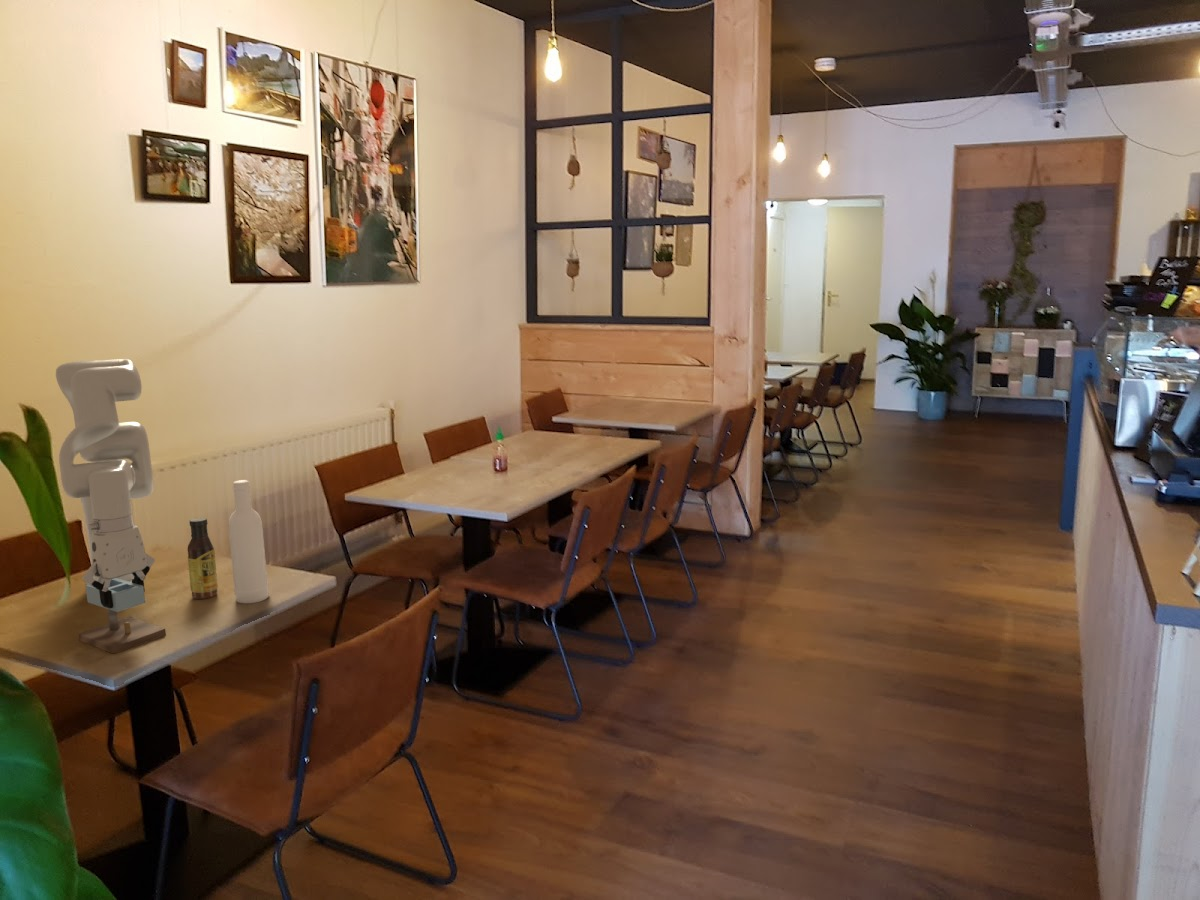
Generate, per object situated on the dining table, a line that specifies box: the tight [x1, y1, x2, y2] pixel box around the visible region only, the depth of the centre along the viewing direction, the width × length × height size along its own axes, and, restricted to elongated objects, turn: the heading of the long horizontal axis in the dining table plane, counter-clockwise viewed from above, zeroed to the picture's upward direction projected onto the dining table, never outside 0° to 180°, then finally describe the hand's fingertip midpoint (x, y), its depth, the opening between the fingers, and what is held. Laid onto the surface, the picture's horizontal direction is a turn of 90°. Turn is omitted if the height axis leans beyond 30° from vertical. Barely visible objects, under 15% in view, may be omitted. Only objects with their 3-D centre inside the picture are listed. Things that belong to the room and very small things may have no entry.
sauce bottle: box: [187, 517, 219, 600], centre depth 229 cm, size 6×6×20 cm
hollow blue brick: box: [85, 578, 146, 613], centre depth 204 cm, size 12×6×4 cm, turn 57°
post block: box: [78, 608, 167, 655], centre depth 205 cm, size 14×12×8 cm
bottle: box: [227, 479, 270, 605], centre depth 226 cm, size 8×8×30 cm
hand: (123, 601), depth 202 cm, fingers closed on hollow blue brick, 6 cm apart
